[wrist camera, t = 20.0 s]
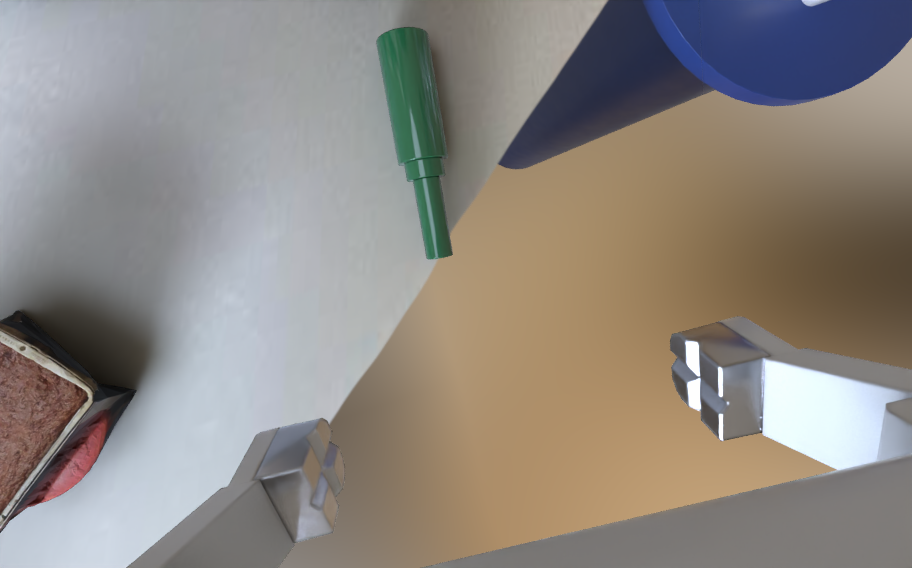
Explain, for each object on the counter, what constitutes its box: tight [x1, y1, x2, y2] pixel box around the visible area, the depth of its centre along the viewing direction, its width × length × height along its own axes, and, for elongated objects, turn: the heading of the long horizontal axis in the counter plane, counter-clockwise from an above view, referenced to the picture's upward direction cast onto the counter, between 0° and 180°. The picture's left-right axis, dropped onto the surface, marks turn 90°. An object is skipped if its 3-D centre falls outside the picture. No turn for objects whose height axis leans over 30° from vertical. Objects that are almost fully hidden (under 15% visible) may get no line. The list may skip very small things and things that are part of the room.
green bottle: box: [376, 27, 453, 259], centre depth 37 cm, size 18×4×4 cm
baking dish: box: [0, 310, 136, 533], centre depth 33 cm, size 14×18×10 cm
